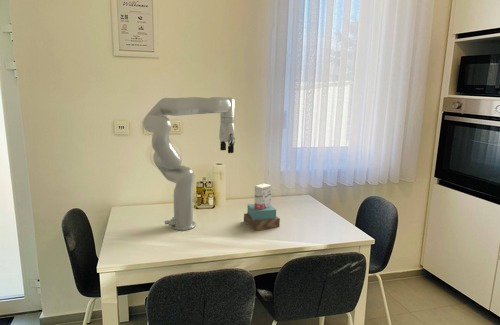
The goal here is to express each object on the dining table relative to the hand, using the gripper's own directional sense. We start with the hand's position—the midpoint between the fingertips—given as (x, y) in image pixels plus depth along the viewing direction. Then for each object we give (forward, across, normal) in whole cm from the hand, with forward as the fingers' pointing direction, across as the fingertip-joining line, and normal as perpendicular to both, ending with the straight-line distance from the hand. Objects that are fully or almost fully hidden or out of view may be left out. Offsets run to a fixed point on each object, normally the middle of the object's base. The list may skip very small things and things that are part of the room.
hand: (226, 151), depth 205 cm
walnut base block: (+37, +22, +10) cm, 44 cm away
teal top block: (+32, +22, +10) cm, 40 cm away
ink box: (+27, +22, +11) cm, 37 cm away
